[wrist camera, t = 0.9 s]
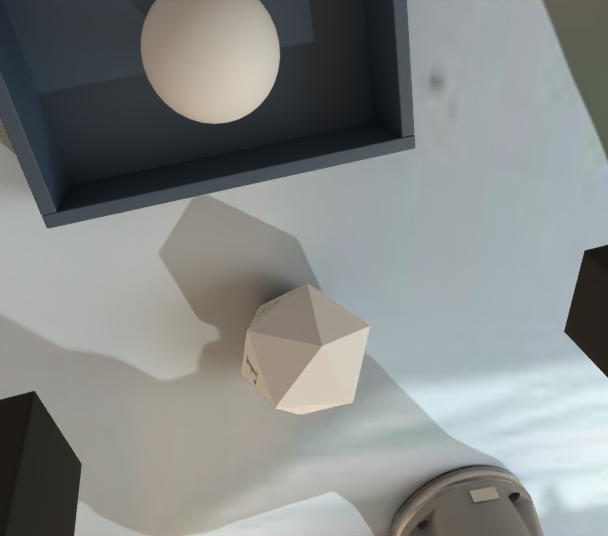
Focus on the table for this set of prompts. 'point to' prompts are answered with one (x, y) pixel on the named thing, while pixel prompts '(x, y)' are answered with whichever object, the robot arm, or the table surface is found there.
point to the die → (304, 351)
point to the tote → (179, 129)
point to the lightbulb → (210, 56)
